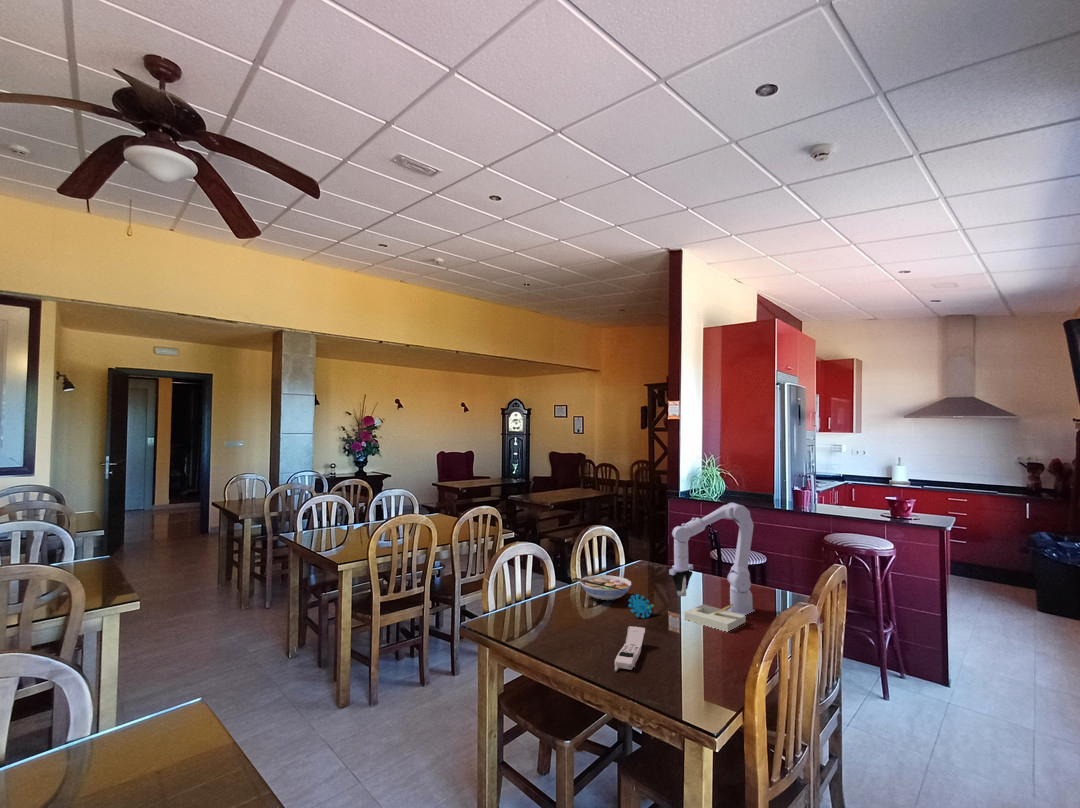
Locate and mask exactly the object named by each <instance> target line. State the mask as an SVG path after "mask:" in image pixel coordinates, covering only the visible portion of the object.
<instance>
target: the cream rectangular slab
mask: <svg viewBox="0 0 1080 808" xmlns="http://www.w3.org/2000/svg"><path fill="white" fill-rule="evenodd" d="M721 609H722V608H719V607H715V606H711V605H707V604H701V605H698V606H696V607H693V608H690V609H688V610H685V611H684V620H685V619H686V620H685V621H687V620H689V621H688V622H691V621H692V622H691V623H694V622H695V623H694V624H697V623H698V625H700V626H704V625H705V626H704V627H707V626H708V628H711V627H712V628H711V629H714V628H716V629H715V630H717V629H719V630H718V631H721V630H722V631H721V632H724V631H726V632H725V633H727V632H728V631H730V630H732V629H734V628H736V627H738V626H739V625H741V624H743V623H745V622H747V621H746V620H747V619H746V618H747V615H746V616H745V615H741V614H738V613H734V612H730V611H726V610H727V609H725V610H723V611H721V612H719V613H717V614H715V615H714V614H713V613H715V612H717V611H719V610H721ZM738 628H739V627H738ZM736 629H737V628H736ZM734 630H735V629H734ZM732 631H733V630H732ZM730 632H731V631H730ZM728 633H729V632H728Z"/></svg>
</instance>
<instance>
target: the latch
mask: <svg viewBox="0 0 1080 808" xmlns="http://www.w3.org/2000/svg"><path fill="white" fill-rule="evenodd" d="M731 606H733V604H731V605H730V604H729V605H726V606H725V607H723V608H720V609H721V610H719V611H717V612H715V613H713V614H714V615H715V614H717V613H719V612H721V611H723V610H728V609H730V607H731Z"/></svg>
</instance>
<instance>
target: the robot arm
mask: <svg viewBox="0 0 1080 808" xmlns="http://www.w3.org/2000/svg"><path fill="white" fill-rule="evenodd" d="M751 516H752V515H751V511H750V510H749V509H748V508H747V507H746V506H745V505H742V504H739V503H735V502H732V501H731V502H729V503H727V504H723V505H722V506H720V507H718V508H717V509H715V510H714V511H712V512H711V513H709V514H707V515H705V516H703V517H691V520H690V521H688V522H686V523H684V522H683V523H681V525H680V526H679V525H677V526H675V527H674V528H673V529H672V532H671V535H672V537H673V564H674V565H672V566H671V567H672V568H670V569H668V570H669V571H668V574H669V575H670V576H671V579H672V581H673V583H674V585H675V590H676V591H682V582H683V578H684V576H685V575H686V590H688V587H689V583H690V579H691V577H692V576H693V571H691V570H694V564H691V563H689V541H690V539H691V537H694V536H696V535H697V534H699V533H701V532H703V531H705V529H706V527H707V526H708V525H711V524H714V523H715V522H717V521H719V520H721V519H731V520H733V521H734V522H735V523H736V524H737V526H738V527H739V528H738V533H737V534H738V535H737V541H736V550H735V557H734V562H733V563H734V564H733V565H732V566H731V567H730V571H729V573H728V574H727V578H726V579H727V582H728V583H729V585H730V586H729V605H731V604H733V606H731V607H729V608H727V609H725V610H726V611H730V612H734V613H738V614H741V615H746V616H748V615H750V614H752V613H754V612H755V611H756V610H755V609H753V603H754V602H753V594H752V592H751V590H750V589H751V586H752V581H751V573H750V571H749V569H748V567H749V561H750V554H751V549H752V548H751V547H752V540H753V532H754V521H753V519H752V517H751ZM682 574H684V575H682ZM753 611H754V612H753ZM751 612H752V613H751ZM749 613H750V614H749ZM747 614H748V615H747Z"/></svg>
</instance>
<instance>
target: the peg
mask: <svg viewBox="0 0 1080 808" xmlns="http://www.w3.org/2000/svg"><path fill="white" fill-rule="evenodd" d="M682 575H684V574H682ZM676 594H677V596H678V597H686V596H687V589H686V575H685V576H684V578H683V582H682V591H677V592H676Z"/></svg>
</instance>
